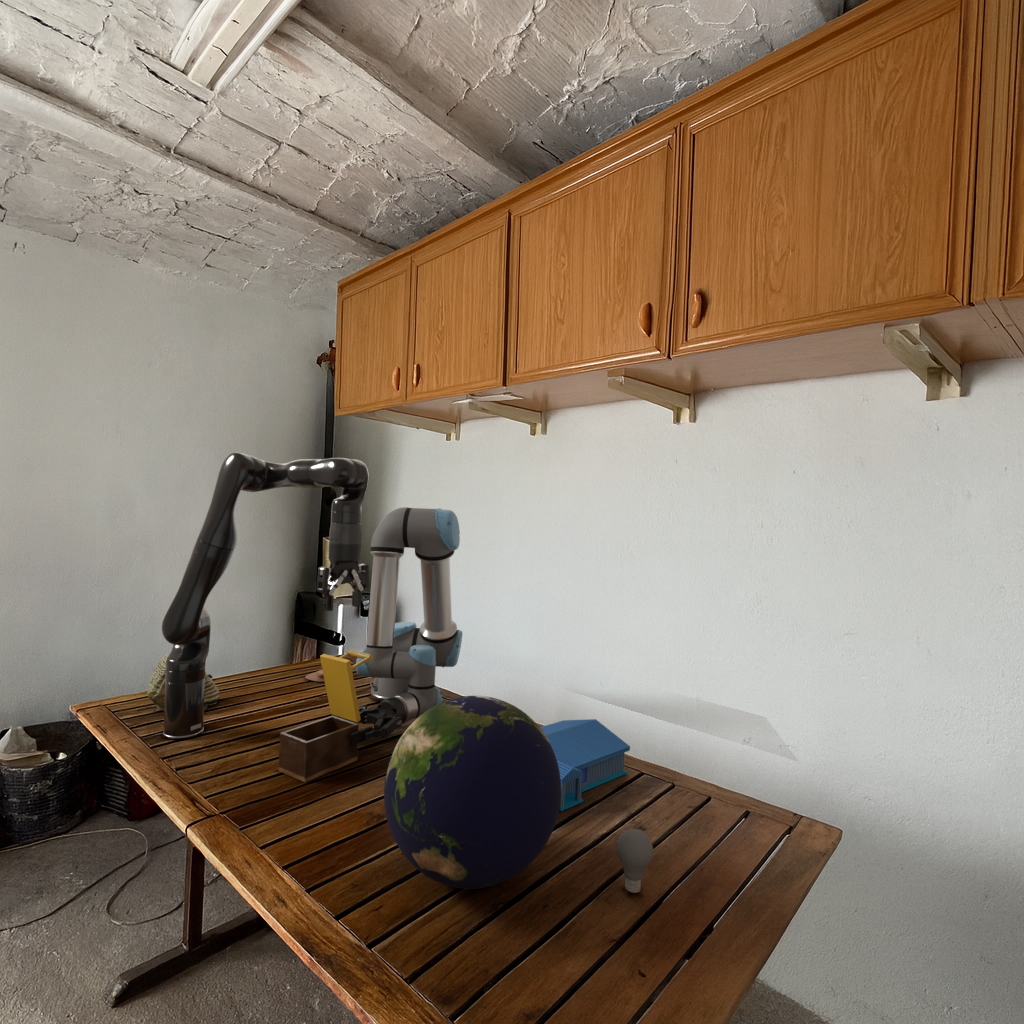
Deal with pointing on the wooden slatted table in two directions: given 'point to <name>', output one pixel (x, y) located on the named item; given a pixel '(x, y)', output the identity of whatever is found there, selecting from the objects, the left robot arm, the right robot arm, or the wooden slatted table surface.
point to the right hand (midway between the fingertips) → (333, 733)
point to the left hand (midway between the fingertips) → (342, 608)
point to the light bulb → (634, 857)
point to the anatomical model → (316, 676)
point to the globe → (472, 792)
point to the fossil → (158, 687)
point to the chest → (317, 748)
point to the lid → (342, 683)
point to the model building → (584, 756)
